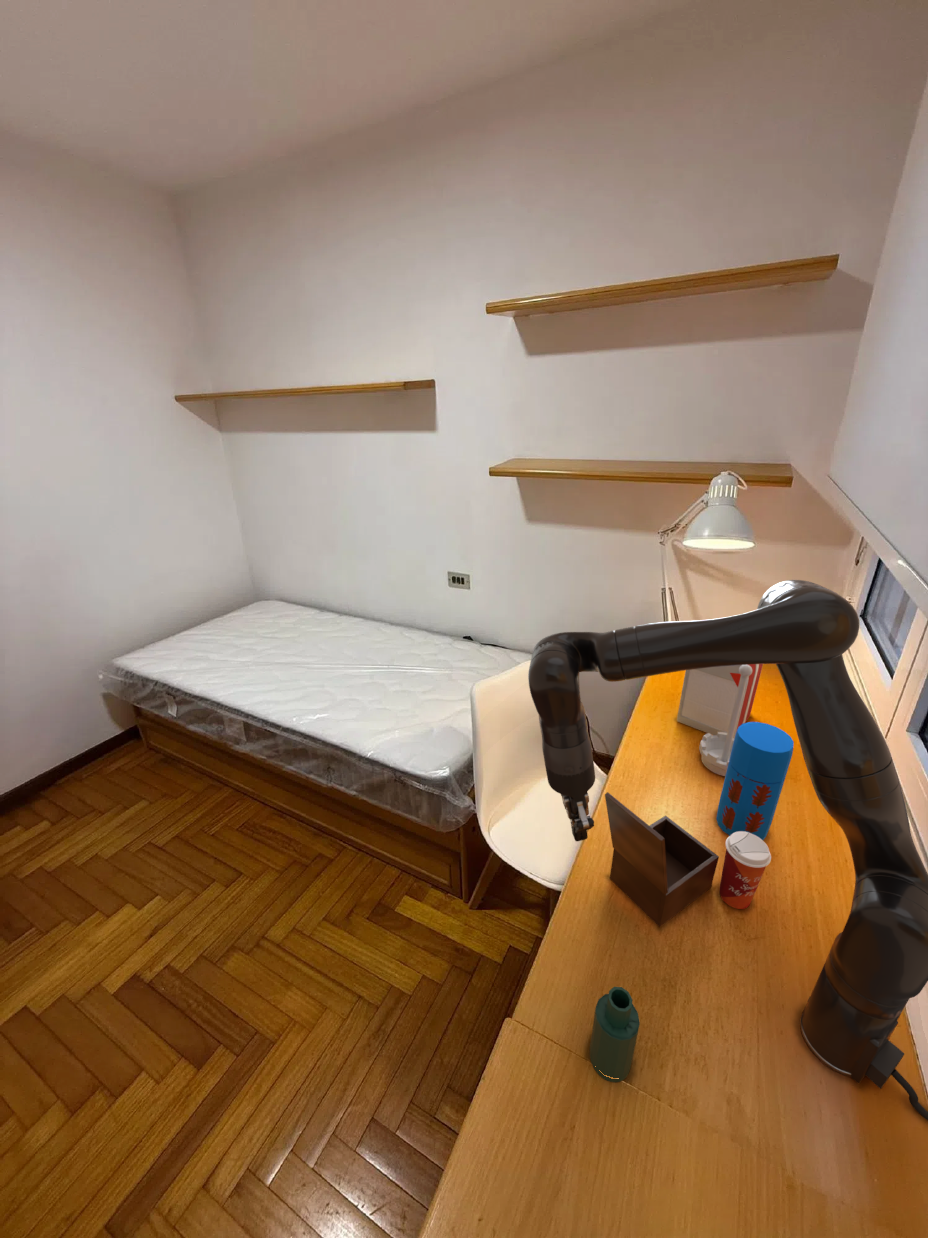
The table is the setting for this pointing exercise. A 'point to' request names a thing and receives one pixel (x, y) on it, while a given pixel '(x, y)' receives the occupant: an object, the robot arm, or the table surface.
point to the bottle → (614, 1034)
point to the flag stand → (720, 745)
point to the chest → (668, 874)
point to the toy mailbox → (715, 698)
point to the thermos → (754, 779)
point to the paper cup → (743, 868)
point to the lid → (637, 843)
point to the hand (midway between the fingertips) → (580, 837)
